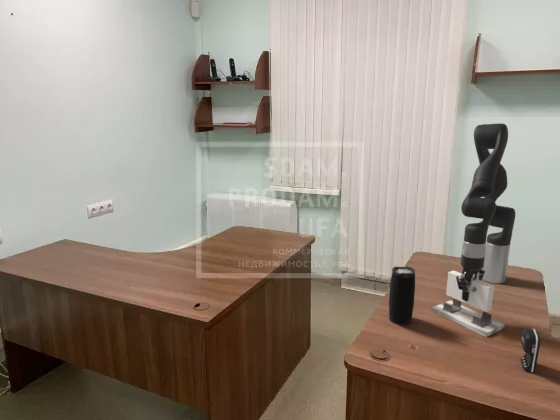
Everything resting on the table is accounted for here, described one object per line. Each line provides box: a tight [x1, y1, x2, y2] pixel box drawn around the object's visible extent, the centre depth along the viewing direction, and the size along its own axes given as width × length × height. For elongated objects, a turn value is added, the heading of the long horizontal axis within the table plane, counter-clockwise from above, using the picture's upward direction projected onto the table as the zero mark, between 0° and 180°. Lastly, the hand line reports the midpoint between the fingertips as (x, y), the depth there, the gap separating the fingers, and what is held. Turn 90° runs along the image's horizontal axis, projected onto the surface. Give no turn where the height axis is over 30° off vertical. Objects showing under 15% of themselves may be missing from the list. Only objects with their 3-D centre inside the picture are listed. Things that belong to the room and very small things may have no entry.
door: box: [445, 270, 495, 313], centre depth 153 cm, size 4×16×9 cm, turn 33°
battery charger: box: [520, 327, 541, 374], centre depth 128 cm, size 7×4×11 cm, turn 160°
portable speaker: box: [388, 265, 416, 325], centre depth 154 cm, size 9×9×20 cm
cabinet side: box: [431, 298, 506, 338], centre depth 156 cm, size 11×22×4 cm, turn 33°
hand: (467, 298), depth 155 cm, fingers closed on door, 3 cm apart
